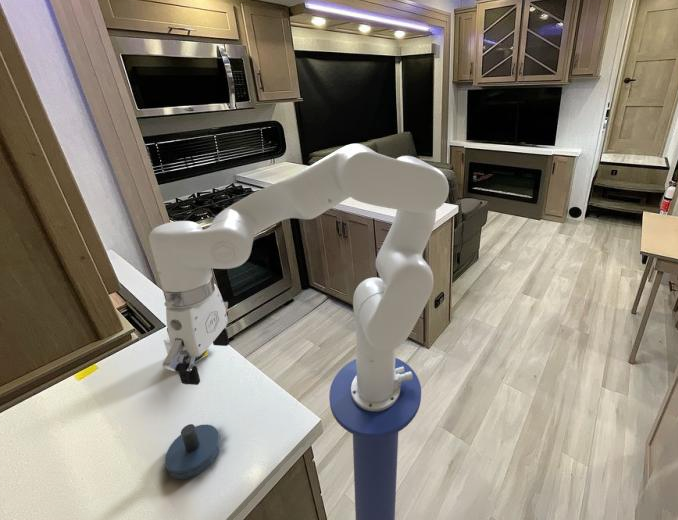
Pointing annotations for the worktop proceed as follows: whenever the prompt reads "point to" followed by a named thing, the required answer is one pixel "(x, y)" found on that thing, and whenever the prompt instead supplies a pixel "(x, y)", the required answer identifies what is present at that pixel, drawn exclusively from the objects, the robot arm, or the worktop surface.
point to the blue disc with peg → (193, 451)
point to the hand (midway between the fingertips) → (207, 362)
